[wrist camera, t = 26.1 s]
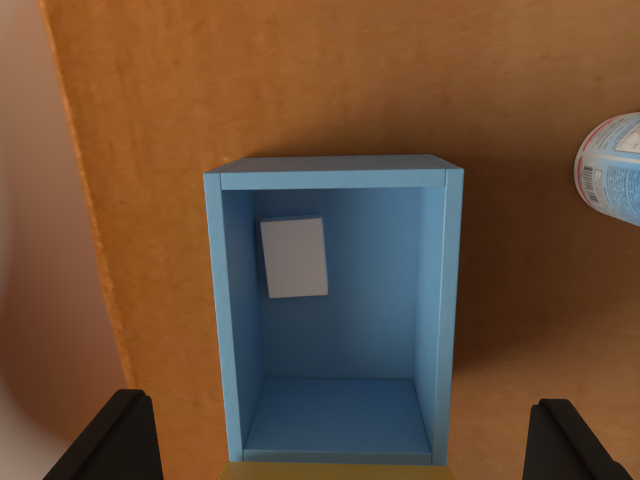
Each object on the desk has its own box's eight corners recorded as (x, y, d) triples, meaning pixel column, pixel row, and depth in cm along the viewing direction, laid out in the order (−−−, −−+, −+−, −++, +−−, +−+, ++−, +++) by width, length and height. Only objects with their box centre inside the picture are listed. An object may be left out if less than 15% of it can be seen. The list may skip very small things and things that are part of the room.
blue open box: (241, 157, 28) (202, 173, 20) (431, 153, 27) (464, 168, 20) (256, 381, 32) (229, 462, 24) (422, 382, 31) (446, 467, 24)
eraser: (321, 217, 26) (259, 222, 27) (328, 294, 28) (269, 298, 28) (322, 213, 28) (263, 217, 28) (329, 287, 29) (272, 290, 29)
